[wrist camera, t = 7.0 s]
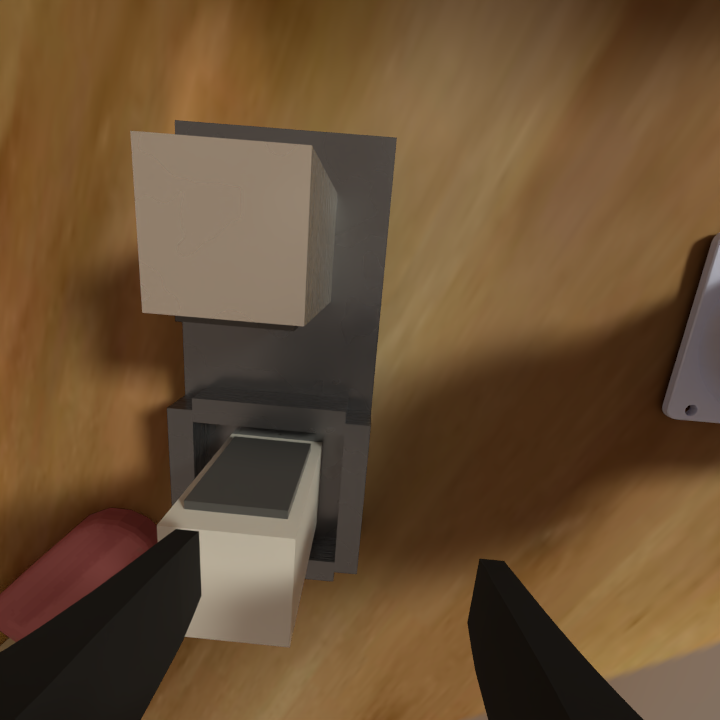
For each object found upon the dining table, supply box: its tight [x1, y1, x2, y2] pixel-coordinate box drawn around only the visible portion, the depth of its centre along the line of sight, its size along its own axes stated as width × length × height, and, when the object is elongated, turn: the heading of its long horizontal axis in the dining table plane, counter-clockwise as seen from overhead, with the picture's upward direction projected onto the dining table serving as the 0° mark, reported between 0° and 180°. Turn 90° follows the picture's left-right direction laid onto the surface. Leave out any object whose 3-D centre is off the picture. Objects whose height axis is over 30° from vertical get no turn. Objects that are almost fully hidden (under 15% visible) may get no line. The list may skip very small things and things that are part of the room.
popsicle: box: [0, 508, 158, 652], centre depth 21 cm, size 5×2×15 cm
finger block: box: [157, 434, 323, 647], centre depth 14 cm, size 4×4×6 cm
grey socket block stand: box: [130, 120, 397, 581], centre depth 14 cm, size 8×18×8 cm, turn 175°
